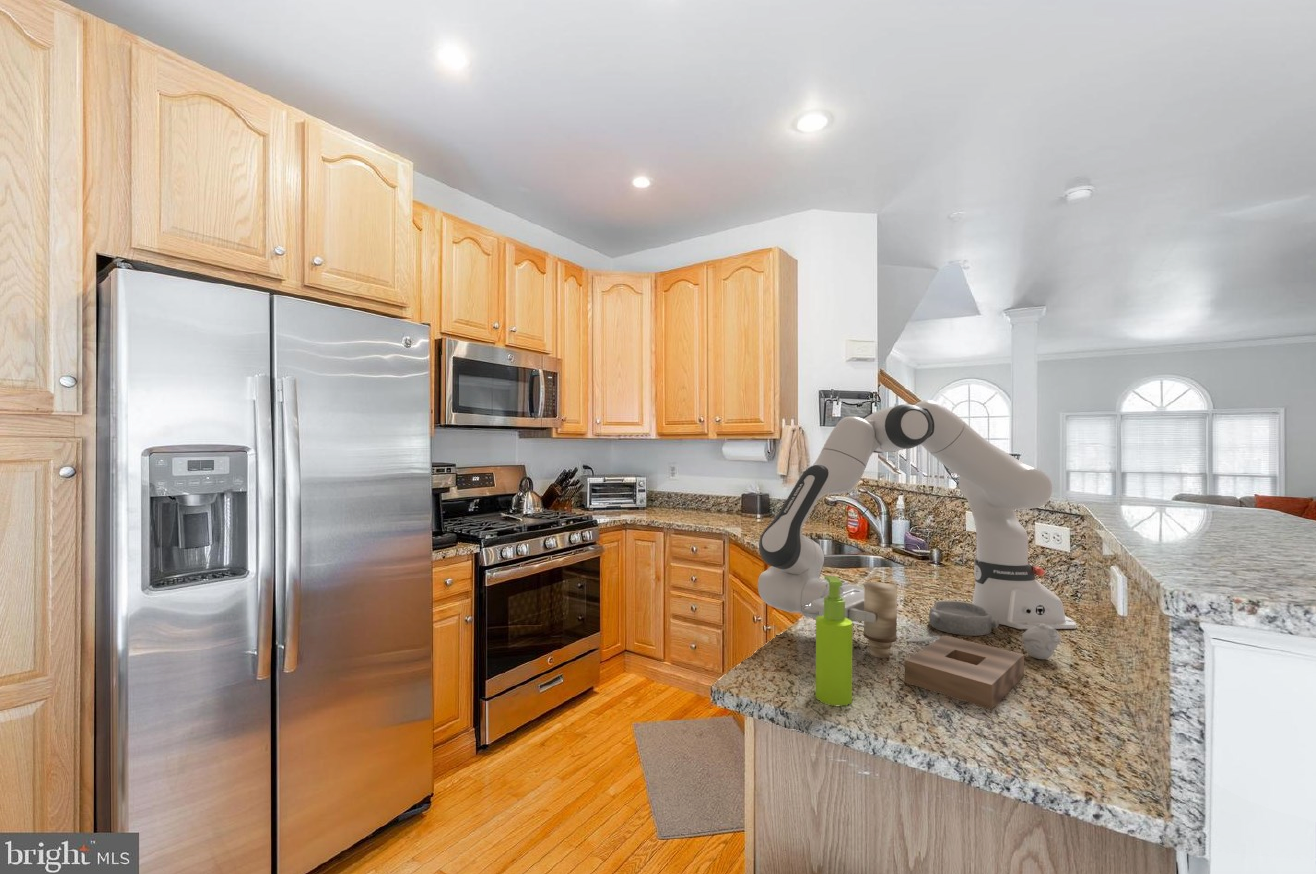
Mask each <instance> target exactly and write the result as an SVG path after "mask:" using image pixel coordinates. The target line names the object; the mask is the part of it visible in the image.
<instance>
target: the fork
mask: <svg viewBox="0 0 1316 874" xmlns="http://www.w3.org/2000/svg"><path fill="white" fill-rule="evenodd" d="M852 622H853V625H858V626H861V627H864V623H861V622H859V621H852ZM901 635H902V634H900V633H897V639H898V638H900V637H899V636H901ZM933 640H935V638H917V637H916V638H915V637H912V638H908V639H905V641H906V642H910V643H921V642H922V643H924V642H930V641H933ZM935 641H936V640H935Z"/></svg>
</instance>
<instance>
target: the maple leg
mask: <svg viewBox="0 0 1316 874" xmlns="http://www.w3.org/2000/svg"><path fill="white" fill-rule="evenodd" d="M863 587H864V611H867V612H868V611H871V612H876V613H877V614H878V617H877V618H878V620H877V621H876V622H874V623H871V622H867V621H863V624H864V626H863V637H864V638H865V639H867V640H868V645H869V653H870V655H871V656H873V657H876V658H879V659H881V658H882V659H888V658H890V657H891V648H892V646H893V645H892V644H893V643H895V642H897V639H898V637H897V625H898V624H897V617H898V616H897V615H898V614H897V613H898V612H897V611H898V609H897V607H898V600H897V599H898V587H897V586H896V585H893V584H889V583H886V582H885V583H884V582H874V581H873V582H866V583H864V586H863Z"/></svg>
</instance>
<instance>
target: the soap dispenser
mask: <svg viewBox="0 0 1316 874" xmlns="http://www.w3.org/2000/svg"><path fill="white" fill-rule="evenodd" d="M823 578H824V579H825V580H827V581H828V582H829V596H827V597H826V598H824V615H822V616H818V617H817V618H816V620H815V684H814V685H815V687H814V688H815V695H816V696H815V698H816V699H817V700H818V701H819V700H820V701H819V702H821V703H823V704H825V703H826V705H828V704H829V705H828V706H833V705H846V706H849V705H850V704H851V703H853V628H854V627H853V626H854V624H853V622H852V621H851V620H850V619H848V618H845V600H844V599H842V598H841V597H840V586H842V582H841V580H842V579H840V577H838V576H831V575H830V576H828V575H824V577H823ZM848 704H849V705H848Z"/></svg>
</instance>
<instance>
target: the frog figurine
mask: <svg viewBox="0 0 1316 874" xmlns="http://www.w3.org/2000/svg"><path fill="white" fill-rule="evenodd" d="M1021 643H1022V644H1023V645H1024V648H1025V651H1026V652H1027V653H1028V655H1030V656H1031V657H1033V658H1034V659H1036V660H1037V659H1038V660H1047V659H1049V658H1051V657H1052V656H1053V655H1054V654H1055V649H1057V648H1058V645H1059V644H1060V643H1061V634H1060V633H1059V631H1058V630H1057V629H1054V628H1052V627H1051V626H1049V625H1046V624H1042V623H1039V624H1037V625H1036V626H1034V627H1031V628H1029V629H1025V631H1024V632H1023V633H1022V636H1021Z"/></svg>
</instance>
